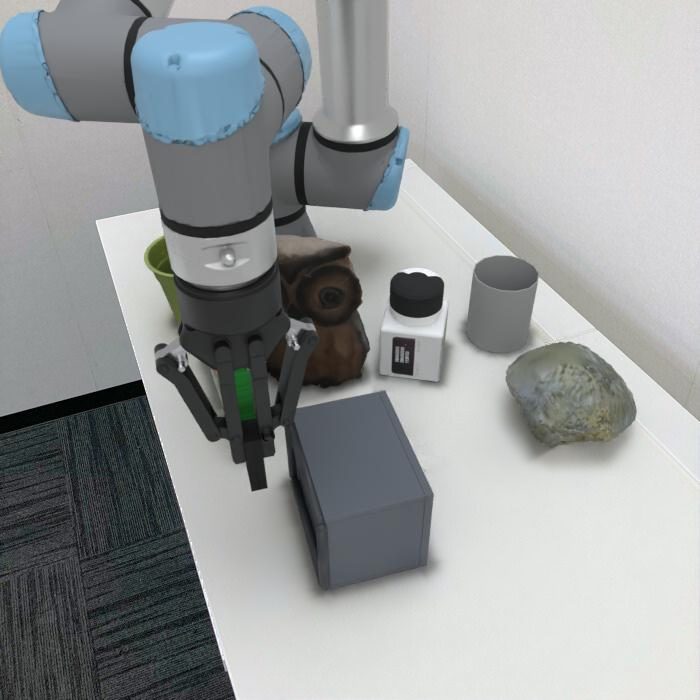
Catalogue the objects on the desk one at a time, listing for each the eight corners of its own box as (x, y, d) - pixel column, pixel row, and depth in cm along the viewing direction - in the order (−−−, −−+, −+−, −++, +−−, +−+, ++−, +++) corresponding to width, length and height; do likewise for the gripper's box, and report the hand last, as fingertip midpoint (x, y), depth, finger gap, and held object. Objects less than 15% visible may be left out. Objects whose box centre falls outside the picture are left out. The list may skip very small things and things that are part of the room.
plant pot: (152, 306, 103) (136, 239, 96) (230, 286, 106) (221, 220, 99) (169, 353, 94) (153, 284, 87) (254, 331, 98) (245, 262, 91)
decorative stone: (557, 387, 94) (622, 345, 88) (592, 485, 83) (667, 445, 78) (488, 345, 86) (554, 296, 81) (517, 446, 76) (594, 399, 71)
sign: (266, 454, 81) (258, 391, 74) (239, 462, 80) (228, 398, 73) (219, 322, 100) (208, 263, 93) (196, 327, 99) (185, 267, 92)
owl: (373, 380, 90) (375, 245, 77) (283, 413, 86) (268, 276, 73) (329, 326, 99) (324, 197, 86) (245, 354, 94) (226, 222, 81)
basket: (428, 569, 69) (436, 498, 62) (321, 597, 67) (316, 527, 60) (382, 457, 80) (383, 386, 73) (289, 478, 78) (281, 407, 71)
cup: (540, 338, 96) (553, 277, 90) (495, 361, 93) (505, 299, 86) (497, 308, 102) (506, 248, 95) (453, 328, 98) (460, 268, 92)
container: (438, 383, 90) (446, 300, 81) (378, 375, 91) (380, 293, 82) (444, 345, 95) (452, 264, 87) (388, 338, 97) (390, 257, 88)
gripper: (133, 309, 46) (190, 527, 61) (327, 277, 49) (335, 494, 64) (129, 250, 52) (182, 463, 67) (303, 224, 54) (316, 435, 69)
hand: (257, 478), depth 65 cm, fingers closed
